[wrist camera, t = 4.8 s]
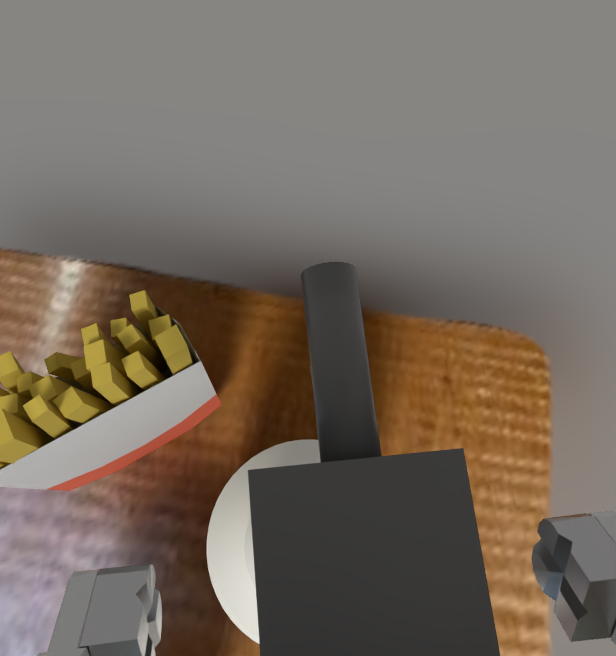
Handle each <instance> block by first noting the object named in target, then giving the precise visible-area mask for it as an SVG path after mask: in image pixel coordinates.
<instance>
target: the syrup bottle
mask: <svg viewBox="0 0 616 656" xmlns="http://www.w3.org/2000/svg"><path fill="white" fill-rule="evenodd" d="M311 463H321V462H320V452H319V443H318V440H313V439H310V440H295V441H289V442H285V443H282V444H278V445H275V446H273V447H271V448H268V449H266V450H264V451H262V452H260V453H259V454H257V455H256V456H254V457H252V458H251V459H250V460H249V461H247V462H246V463H245V464H244V465H243V466H241V467H240V468H239V470H238V471H237V472H236V473H235V474H234V475H233V476H232V477H231V479H230V480H229V481H228V483H227V484H226V485H225V487H224V489H223V490H222V492H221V494H220V496H219V498H218V499H217V502H216V504H215V507H214V509H213V512H212V516H211V519H210V523H209V528H208V535H207V563H208V570H209V574H210V579H211V583H212V585H213V588H214V591H215V593H216V596H217V598H218V600H219V602H220V604H221V606H222V607H223V609H224V611H225V612H226V613H227V615H228V616H229V618H230V619H231V620H232V622H233V623H234V624H235V625H236V626H237V627H238V628H239V629H240V630H241V631H242V632H243V633H244V634H246V635H247V636H248V637H250V638H251V639H252V640H253V641H255V642H257V643H258V644H260V643H259V628H258V613H257V599H256V584H255V570H254V555H253V540H252V526H251V511H250V496H249V482H248V470H251V469H261V468H271V467H281V466H291V465H301V464H311Z"/></svg>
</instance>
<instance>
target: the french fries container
mask: <svg viewBox="0 0 616 656" xmlns="http://www.w3.org/2000/svg"><path fill="white" fill-rule="evenodd" d="M129 296H130V302H131V309H132V312H133V313H134V315H135V316H136V318H137V319H138V321H139V322H140V324H139V325H138V326H137V327H136V328H135V327H134V326H133V325H132V324H131V323H130V322H129V321H128V319H127V318H121V319H116V320H111V338H112V339H113V340H114V341H115V342H116V343H117V344H116V345H115V346H113V345H112V344H111V343H110V342H109V340H108V339H107V337H106V336H105V335H104V333H103V332H102V330H101V329H100V327H99V326H98V325H97V323H95V324H93V325H90V326H88V327H85V328H83V329H81V332H82V337H83V342H84V354H85V357H84V358H82V359H81V358H77V357H73V356H69V355H65V354H61V353H58V352H56V353H54V354H53V355H51V356H50V357H48V358H46V359H45V363H46V366H47V369H48V373H49V374H52V375H55V376H58V377H56V378H54V377H52V376H50V375H48V376H46V377H42V376H40V375H37V374H35V373H33V372H28V373H25V372H24V370H23V369H22V367H21V366H20V364H19V363H18V361H17V360H16V359H15V357H14V356H13V354H12V353H11V351H9V352H7V353H5V354H2V355H0V381H1V383H2V384H3V385H4V387H5V388H6V389H7V390H8V392H7V391H5V390H3V389H1V388H0V487H12V488H30V489H48V490H66V491H70V490H73V489H75V488H77V487H80V486H82V485H85V484H87V483H89V482H92V481H94V480H97V479H99V478H102V477H104V476H106V475H109V474H111V473H114V472H116V471H118V470H120V469H122V468H124V467H126V466H127V465H129V464H131V463H133V462H134V461H136V460H138V459H140V458H141V457H143V456H145V455H147V454H148V453H150V452H152V451H154V450H155V449H157V448H159V447H161V446H163V445H164V444H166V443H168V442H170V441H171V440H173V439H175V438H177V437H178V436H180V435H182V434H184V433H185V432H187V431H189V430H190V429H192V428H193V427H194V426H195V425H197V424H198V423H199V422H201V421H202V420H203V419H204V418H206V417H207V416H208V415H209V414H211V413H212V412H213V411H214V410H216V409H217V408H218V407H219V406H221V403H220V401H219V399H218V396H217V394H216V392H215V390H214V388H213V386H212V384H211V381H210V379H209V377H208V375H207V373H206V371H205V369H204V366H203V364H202V362H201V360H200V358H199V357H198V355H197V353H196V351H195V349H194V348H193V346H192V344H191V342H190V341H189V339H188V337H187V335H186V333H185V332H184V330H183V328H182V326H181V324H179V323H178V322H177V321H176V320H174V319H173V318H172V317H171V316H169V314H167V313H165V312H164V311H163V310H162V309H160V308H159V307H158V306H156V307H154V305H153V303H152V302H151V300H150V298H149V296H148V295H147V293H146V291H145V290H143V291H140V292H137V293H134V294H131V295H129Z"/></svg>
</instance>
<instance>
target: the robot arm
mask: <svg viewBox="0 0 616 656" xmlns="http://www.w3.org/2000/svg"><path fill="white" fill-rule="evenodd" d="M537 532H538V533H539V535H540V537H541V538H542V539H541V540H540V541H539V542H538V543H537V544H536V545H535V546H534V548H533V553H532V564H533V571H534V574H535V576H536V579H537V582H538V584H539V585H540V587H541V589H542V591H543V593H545V594H546V595H548V596H549V597H551V598H552V599H553V600H555V601H556V603H555V609H554V613H555V614H556V616H557V618H558V620H559V621H560V623H561V625H562V627H563V629H564V630H565V632H566V634H567V635H568V637H569V639H570V641H571V642H574V641H583V640H593V639H602V638H612V639H611V640H612V641H613V642H614V643H615V644H616V513H614V512H613V511H605V512H597V513H589V514H585V513H584V514H576V515H569V516H561V517H553V518H545V519H543V520H542V521H541V522H540V523H539V527H538V531H537ZM155 578H156V575H155V571H154V567H153V565H139V566H128V567H117V568H105V569H96V570H86V571H76V572H74V573H73V574H72V576H71V577H70V579H69V581H68V585H67V588H66V591H65V595H64V598H63V601H62V605H61V608H60V611H59V615H58V618H57V621H56V625H55V628H54V631H53V635H52V638H51V641H50V645H49V648H48V652H44V653H39V654H38V655H37V656H156V655H155V650H154V648H155V647H156V646H157V645H158V643H159V642H160V639H161V629H162V605H161V597H160V592H159V590H157V589H156V588H154V586H155Z"/></svg>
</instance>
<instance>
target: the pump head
mask: <svg viewBox="0 0 616 656" xmlns="http://www.w3.org/2000/svg"><path fill="white" fill-rule="evenodd" d="M301 280H302V290H303V300H304V310H305V319H306V329H307V338H308V348H309V357H310V367H311V376H312V386H313V395H314V405H315V414H316V424H317V433H318V443H319V452H320V462H321V463H311V464H301V465H291V466H281V467H271V468H261V469H251V470H248V482H249V496H250V511H251V526H252V540H253V555H254V570H255V584H256V599H257V613H258V628H259V643H260V656H500V652H499V646H498V641H497V635H496V630H495V624H494V618H493V613H492V607H491V602H490V596H489V590H488V585H487V579H486V574H485V568H484V562H483V557H482V551H481V545H480V540H479V534H478V529H477V523H476V517H475V512H474V506H473V501H472V495H471V489H470V484H469V478H468V473H467V467H466V461H465V456H464V450H463V448H461V449H451V450H441V451H431V452H421V453H411V454H401V455H391V456H381V450H380V442H379V435H378V428H377V420H376V413H375V406H374V398H373V391H372V384H371V376H370V369H369V362H368V354H367V347H366V340H365V332H364V325H363V318H362V310H361V303H360V296H359V288H358V282H357V274H356V268H355V267H354V266H353V265H351V264H348V263H343V262H329V263H322V264H318V265H315V266H312V267H309V268H308V269H306V270H305V271H303V272H302V274H301Z"/></svg>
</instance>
